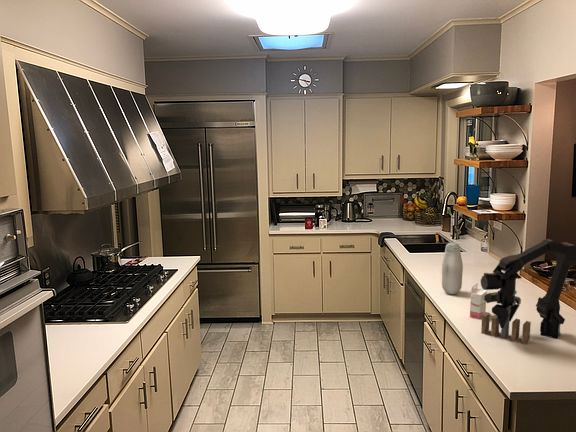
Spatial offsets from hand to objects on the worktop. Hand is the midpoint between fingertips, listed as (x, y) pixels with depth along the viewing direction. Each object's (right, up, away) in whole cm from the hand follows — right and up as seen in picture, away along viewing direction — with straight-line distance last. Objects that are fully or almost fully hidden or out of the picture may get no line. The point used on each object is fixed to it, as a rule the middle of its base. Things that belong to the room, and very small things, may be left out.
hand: (505, 324), depth 192 cm
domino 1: (-6, -5, +6) cm, 10 cm away
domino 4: (+6, -6, -4) cm, 10 cm away
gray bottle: (-3, +3, +56) cm, 56 cm away
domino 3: (+3, -6, -2) cm, 7 cm away
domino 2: (-3, -5, +3) cm, 7 cm away
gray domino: (0, -5, +1) cm, 5 cm away
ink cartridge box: (-1, -2, +25) cm, 25 cm away
